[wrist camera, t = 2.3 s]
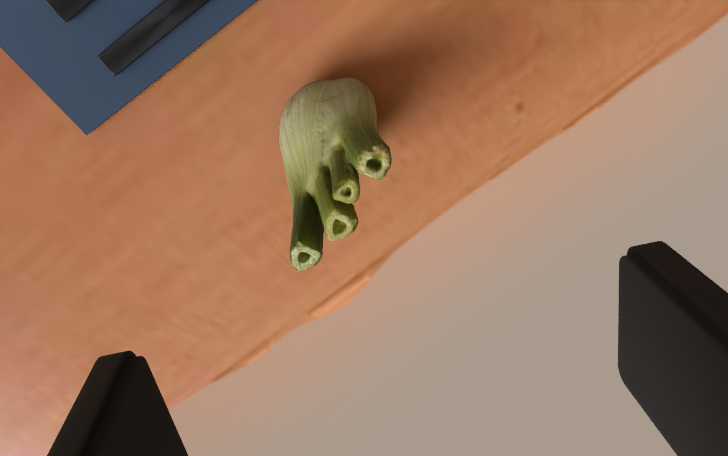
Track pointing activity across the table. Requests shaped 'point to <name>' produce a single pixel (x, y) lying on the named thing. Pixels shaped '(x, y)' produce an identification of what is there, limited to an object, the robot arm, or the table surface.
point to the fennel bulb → (328, 161)
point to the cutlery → (133, 29)
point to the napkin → (99, 50)
